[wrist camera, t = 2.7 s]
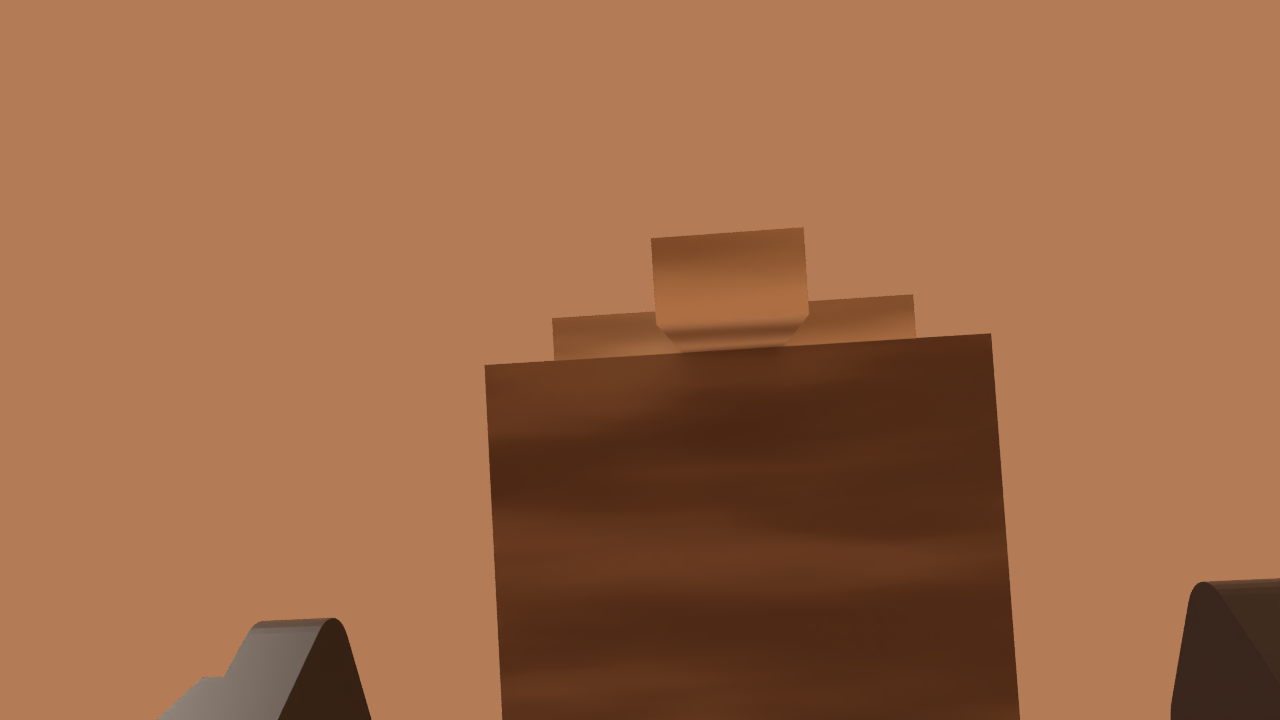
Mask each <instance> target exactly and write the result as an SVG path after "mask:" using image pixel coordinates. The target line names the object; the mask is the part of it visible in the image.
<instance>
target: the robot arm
mask: <svg viewBox="0 0 1280 720" xmlns="http://www.w3.org/2000/svg"><path fill="white" fill-rule="evenodd" d="M157 720H371V716H370V713H369V709H368V706H367V703H366V699H365V696H364V692H363V689H362V685H361V682H360V678H359V675H358V671H357V668H356V665H355V661H354V657H353V654H352V650H351V647H350V644H349V640H348V637H347V634H346V631H345V629H344V627H343V625H342V623H341V622H340V621H339V620H337V619H336V618H321V619H298V620H274V621H261V622H258V623H257V624H255V625H254V626H253V627H252V628H251V629H250V631H249V633H248V634H247V636H246V638H245V639H244V641H243V643H242V645H241V647H240V649H239V650H238V652H237V654H236V656H235V658H234V659H233V661H232V663H231V665H230V666H229V668H228V670H227V672H226V674H225V675H224V677H209V678H208V677H205V678H202V679H201V680H200V681H198V682H197V683H196V684H195V685H194V686H193V687H192V688H191V689H190V690H189V691H188V692H187V693H185V694H184V695H183V696H182V697H181V698H180V699H179V700H178V701H177V702H176V703H175V704H173V705H172V707H170V708H169V709H168V710H167V711H166V712H165V713H164V714H163V715H162V716H160V717H159V718H158V719H157ZM1171 720H1280V578H1277V579H1254V580H1232V581H1210V582H1200V583H1198V584H1197V585H1196V586H1195V587H1194V588H1193V590H1192V592H1191V595H1190V599H1189V603H1188V608H1187V614H1186V620H1185V626H1184V632H1183V638H1182V644H1181V650H1180V656H1179V662H1178V667H1177V674H1176V679H1175V685H1174V691H1173V697H1172V703H1171Z"/></svg>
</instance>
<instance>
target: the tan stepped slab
mask: <svg viewBox="0 0 1280 720" xmlns="http://www.w3.org/2000/svg"><path fill="white" fill-rule="evenodd" d="M651 247H652V264H653V281H654V298H655V312H641V313H626V314H611V315H595V316H580V317H565V318H553V319H552V325H553V342H554V361H560V360H576V359H592V358H608V357H624V356H640V355H656V354H672V353H688V352H704V351H719V350H735V349H751V348H767V347H783V346H799V345H815V344H831V343H847V342H863V341H879V340H895V339H911V338H916V332H915V331H916V330H915V315H914V303H913V302H914V301H913V295H899V296H884V297H868V298H853V299H839V300H823V301H808V290H807V274H806V259H805V245H804V229H803V228H790V229H776V230H762V231H748V232H733V233H719V234H706V235H692V236H680V237H665V238H652V239H651Z"/></svg>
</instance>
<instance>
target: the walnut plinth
mask: <svg viewBox="0 0 1280 720" xmlns="http://www.w3.org/2000/svg"><path fill="white" fill-rule="evenodd" d="M485 382H486V402H487V422H488V441H489V462H490V480H491V481H490V482H491V501H492V521H493V538H494V539H493V540H494V561H495V581H496V601H497V619H498V639H499V659H500V679H501V700H502V719H503V720H1020V714H1019V700H1018V687H1017V674H1016V662H1015V647H1014V634H1013V621H1012V608H1011V594H1010V581H1009V567H1008V554H1007V540H1006V527H1005V515H1004V501H1003V487H1002V475H1001V461H1000V447H999V433H998V421H997V408H996V394H995V380H994V367H993V354H992V341H991V334H976V335H959V336H943V337H928V338H911V339H895V340H879V341H863V342H847V343H831V344H815V345H799V346H783V347H767V348H751V349H735V350H719V351H704V352H688V353H672V354H656V355H640V356H624V357H608V358H592V359H576V360H560V361H544V362H528V363H512V364H496V365H485Z"/></svg>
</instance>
